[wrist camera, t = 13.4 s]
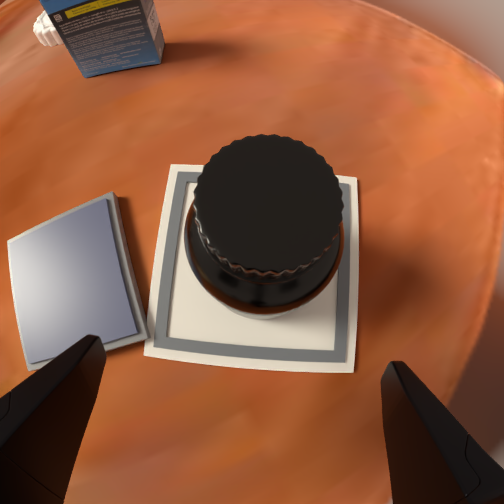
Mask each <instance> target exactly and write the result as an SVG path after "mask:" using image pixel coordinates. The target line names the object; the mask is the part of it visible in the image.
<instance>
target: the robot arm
mask: <svg viewBox="0 0 504 504" xmlns="http://www.w3.org/2000/svg"><path fill="white" fill-rule="evenodd" d="M105 363H106V351H105V348H104V346H103V343H102V340H101V338H100V337H99V336H97V335H92V334H88V335H86V336H84V337H83V338H82V339H80V340H79V341H77V342H76V343H75V344H73V345H72V346H70V347H69V348H68V349H66V350H65V351H63V352H62V353H61V354H59V355H58V356H57V357H55V358H54V359H52V360H51V361H50V362H48V363H47V364H46V365H44V366H43V367H42V368H40V369H39V370H37V371H36V372H35V373H33V374H32V375H31V376H29V377H28V378H27V379H25V380H24V381H23V382H21V383H20V384H19V385H17V386H16V387H15V388H13V389H12V390H11V391H9V392H8V393H7V394H5V395H4V396H3V397H1V398H0V504H63V503H64V499H65V495H66V491H67V488H68V484H69V481H70V477H71V474H72V471H73V467H74V464H75V461H76V457H77V454H78V451H79V448H80V445H81V442H82V439H83V436H84V433H85V430H86V427H87V424H88V421H89V418H90V415H91V412H92V410H93V407H94V404H95V401H96V398H97V394H98V390H99V386H100V382H101V378H102V374H103V370H104V366H105ZM381 397H382V416H383V429H384V436H385V442H386V449H387V457H388V464H389V472H390V481H391V490H392V500H393V504H504V469H503V468H502V467H501V466H500V465H499V464H497V462H495V461H494V460H493V459H492V458H491V457H490V456H489V455H488V454H487V453H486V452H485V451H484V450H483V449H482V448H481V446H480V445H479V444H478V443H477V442H476V441H475V440H474V439H473V438H472V437H471V435H470V434H468V432H467V431H466V430H465V429H464V428H463V427H462V425H461V424H460V423H459V422H458V421H457V420H456V419H455V417H454V416H453V415H452V414H451V413H450V412H449V411H448V410H447V408H446V407H445V406H444V405H443V404H442V403H441V402H440V401H439V400H438V398H437V397H436V396H435V395H434V394H433V393H432V392H431V391H430V390H429V389H428V388H427V386H426V385H425V384H424V383H423V382H422V381H421V380H420V379H419V378H418V377H417V376H416V374H415V373H414V372H413V371H412V370H411V369H410V368H409V367H408V366H407V365H406V364H405V363H404V362H403V361H391V362H390V363H389V364H388V366H387V368H386V370H385V372H384V374H383V376H382V378H381Z"/></svg>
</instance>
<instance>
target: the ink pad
mask: <svg viewBox="0 0 504 504" xmlns="http://www.w3.org/2000/svg"><path fill="white" fill-rule="evenodd" d="M7 243H8V257H9V268H10V277H11V286H12V293H13V300H14V306H15V312H16V318H17V324H18V329H19V334H20V338H21V343H22V347H23V352H24V356H25V360H26V364H27V368H28V371H36V370H39V369H40V368H42V367H43V366H44V365H46V364H47V363H48V362H50V361H51V360H52V359H54V358H55V357H57V356H58V355H59V354H61V353H62V352H63V351H65V350H66V349H68V348H69V347H70V346H72V345H73V344H75V343H76V342H77V341H79V340H80V339H82V338H83V337H84V336H86V335H88V334H92V335H97V336H99V337H100V338H101V340H102V343H103V346H104V348H105V351H106V352H107V351H110V350H114V349H117V348H121V347H124V346H127V345H131V344H134V343H137V342H141V341H144V340H146V339H149V338H151V336H150V333H149V330H148V326H147V318H146V315H145V311H144V308H143V304H142V301H141V297H140V294H139V290H138V286H137V282H136V279H135V275H134V271H133V267H132V263H131V259H130V254H129V250H128V246H127V241H126V237H125V232H124V228H123V223H122V218H121V213H120V208H119V203H118V198H117V196H116V195H115V194H114V193H113V192H110V193H107V194H105V195H102V196H100V197H98V198H95V199H93V200H91V201H89V202H86V203H84V204H82V205H80V206H77V207H75V208H73V209H71V210H69V211H66V212H64V213H62V214H60V215H58V216H56V217H54V218H52V219H50V220H47V221H45V222H43V223H41V224H39V225H37V226H35V227H33V228H31V229H29V230H27V231H25V232H23V233H22V234H20V235H18V236H16V237H14V238H12V239H10V240H8V241H7Z"/></svg>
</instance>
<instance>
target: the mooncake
mask: <svg viewBox="0 0 504 504" xmlns="http://www.w3.org/2000/svg"><path fill="white" fill-rule="evenodd" d="M33 31H34V33H35V34H36V36H37V38H38V39H39V41H40V42H41V43H43V45H44V46H48V45H49V46H51V47H52V46H55V45H57V44H59V45H61V44H64V43H63V41H62V39H61V38H60V36H59V34H58V32H57V31H56V29H55V27H54V26H53V24H52V22H51V20H50V19H49V17H48V15H47V13H46V11H45V10H44V11H43V13H42V14H41V15H40V16H39V17H38V18H37V21H36V22H35V24H34V30H33Z"/></svg>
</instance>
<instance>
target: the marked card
mask: <svg viewBox="0 0 504 504" xmlns="http://www.w3.org/2000/svg"><path fill="white" fill-rule="evenodd" d="M203 166H204V165H178V164H171V167H170V172H169V177H168V182H167V187H166V193H165V198H164V203H163V209H162V215H161V220H160V226H159V232H158V239H157V245H156V252H155V258H154V266H153V273H152V280H151V288H150V297H149V305H148V314H147V326H148V330H149V333H150V336H151V338H149V339H146V340H145V346H144V356H150V357H156V358H163V359H169V360H176V361H183V362H191V363H199V364H207V365H216V366H226V367H236V368H247V369H260V370H275V371H295V372H326V373H353V372H354V360H355V347H356V332H357V312H358V282H359V224H358V194H357V178H355V177H347V176H339V175H335V176H336V177H337V178H338V179H339V187H340V188H341V190H342V192H343V195H342V201H343V203H344V208H343V211H342V217H343V226H344V249H343V255H342V258H341V262H340V264H339V267H338V269H337V271H336V273H335V275H334V277H333V278H332V280H331V281H330V283H329V284H328V285H327V286H326V288H325V289H324V290H323V291H322V292H321V293H320V294H319V295H318V296H317V297H315V298H314V299H313V300H311V301H310V302H309V303H307V304H305V305H304V306H302V307H300V308H298V309H296V310H293V311H291V312H289V313H286V314H284V315H282V316H279V317H276V318H272V319H263V320H258V319H249V318H245V317H242V316H240V315H237V314H235V313H233V312H232V311H230V310H229V309H227V308H226V307H225V306H223V305H222V304H221V303H220V302H218V301H217V300H216V299H215V298H213V297H212V296H211V295H210V294H209V293H208V292H207V291H206V290H205V289H204V288H203V287H202V285H201V284H200V283H199V281H198V280H197V278H196V277H195V275H194V273H193V271H192V270H191V267H190V265H189V263H188V259H187V256H186V252H185V246H184V227H185V221H186V216H187V213H188V210H189V208H190V205H191V203H192V201H193V200H194V193H193V191H194V189H195V188H196V186H197V178H198V177H199V175H201V173H202V171H203Z"/></svg>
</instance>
